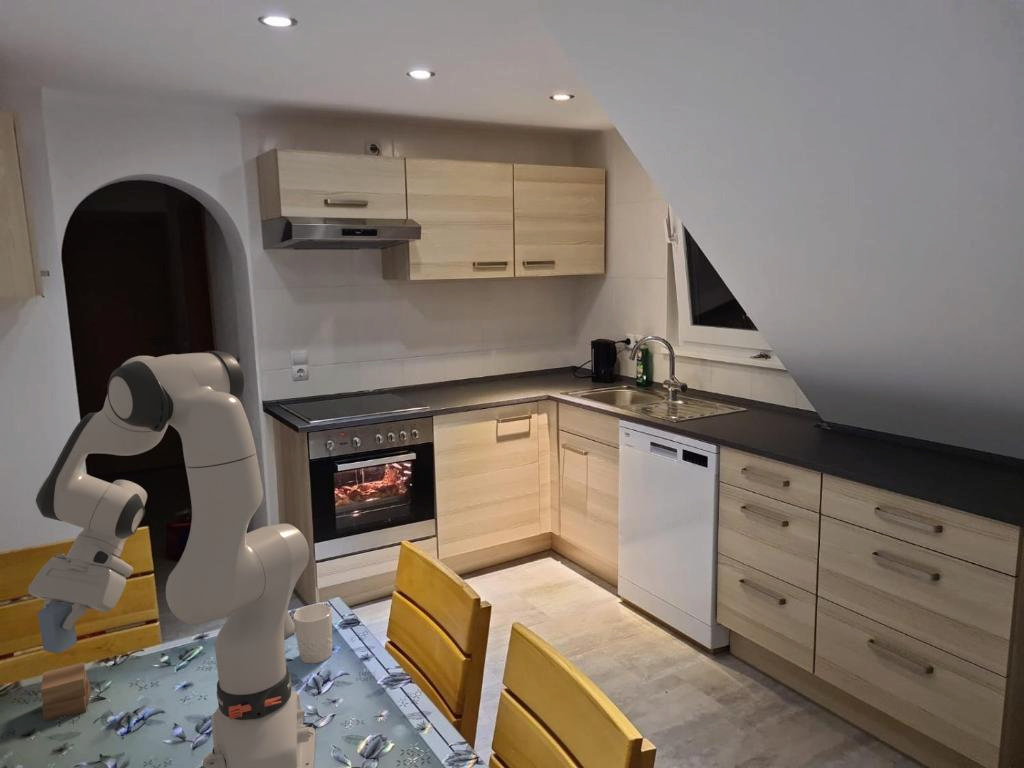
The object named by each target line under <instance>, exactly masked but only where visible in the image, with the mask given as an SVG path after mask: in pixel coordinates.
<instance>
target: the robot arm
mask: <svg viewBox="0 0 1024 768" xmlns="http://www.w3.org/2000/svg"><path fill="white" fill-rule="evenodd" d="M244 376H245V375H244V372H243V369H242V367H241V365H240V364H239V362H238V360H237V359H236V358H235V357H234V356H233V355H231V354H230V353H228V352H224V351H218V350H206V351H203V352H191V353H188V352H187V353H180V354H179V353H178V354H175V353H172V354H165V355H162V356H161V355H160V356H157V357H155V356H152V355H151V356H150V355H137V356H134V357H131V358H129V359H127V360H125V361H124V362H123V363H122V364H121V366H119V367H117V368H115V369H114V370H113V371H112V372H111V374H110V377H109V379H108V383H107V386H106V387H107V388H106V389H107V391H106V392H107V394H106V397H105V401H104V403H103V407H102V409H101V410H100V411H98V412H97V411H96V412H89V413H88V414H86V415H85V416H84V417H83V418H81V420H80V421H79V422H78V423H77V425H76V426H74V429H73V430H72V432H71V434H70V436H69V438H68V439H67V441H66V442H65V445H63V448H62V450H61V452H60V453H59V455H58V457H57V459H56V461H55V463H54V465H53V466H52V469H51V470H50V472H49V474H48V476H46V478H45V480H44V481H43V482H42V484H41V485H40V486H39V488H38V491H37V493H36V498H35V504H36V507H37V509H38V510H39V512H40V514H41V515H42V517H44V518H47V519H50V520H55V521H58V522H59V521H60V522H65V523H67V524H70V525H73V526H76V527H79V528H82V531H80V532H79V534H77V536H76V538H75V539H74V542H73V543H72V545H71V547H70V549H69V550H68V552H67V554H66V553H63V552H62V553H61V552H60V553H57V554H56V555H54V556H53V557H50V559H49V560H48V561H47V562H45V564H43V566H42V567H41V568H40V570H39V571H38V572H37V574H36V575H35V577H34V578H33V579H32V581H31V583H30V584H29V586H28V588H27V590H28V594H29V595H31V596H33V597H35V598H37V599H40V600H44V602H43V603H42V604H43V606H42V607H43V608H42V609H44V608H46V607H48V606H50V605H52V604H54V603H56V602H58V603H63V604H68V605H72V612H71V613H70V614H69V615H68V617H67V618H63V619H62V621H61V623H60V624H59V627H60V628H63V629H66V630H71V629H72V627H73V625H75V623H76V622H77V621H79V620H80V619H81V618H82V617H83V616H85V614H86V612H87V611H88V609H89V610H94V611H99V612H103V613H104V612H105V613H109V612H111V611H112V610H113V609H114V608H115V607H116V605H117V603H118V602H119V600H120V599H121V596H122V594H123V592H124V590H125V588H126V585H127V578H129V577H130V576H131V575H132V574H133V571H134V567H133V566H132V565H130V564H129V563H128V562H125V560H123V559H122V558H121V555H122V552H123V550H124V545H125V544H126V541H127V539H128V538H129V537H131V536H134V535H135V534H136V532H137V530H138V528H139V526H140V525H141V523H142V521H143V518H145V514H146V509H145V505H146V503H147V500H148V493H147V491H146V490H145V489H144V488H143V487H142V486H141V485H139V484H138V483H135V482H133V481H132V480H131V481H130V480H126V479H116V480H114V481H113V482H108V481H106V480H103V479H100V478H97V477H94V476H91V475H90V474H87V472H85V471H83V470H82V469H81V468H82V466H83V465H84V462H85V461H86V460H87V457H88V455H89V454H106V455H114V456H122V457H123V456H124V457H125V456H135V455H140V454H143V453H145V452H147V451H150V450H152V449H153V448H154V447H156V446H158V444H159V443H160V442H161V441H162V439H163V438H164V435H165V433H166V431H167V429H168V427H169V425H170V426H171V427H173V428H174V429H175V430H176V431H177V432H178V434H179V437H180V439H181V440H180V441H181V444H182V452H183V458H184V465H185V470H186V476H187V481H188V488H189V495H190V501H191V502H190V503H191V504H190V505H191V523H190V530H189V534H188V539H187V541H186V545H185V548H184V551H182V555H181V557H180V558H179V561H178V562H177V564H176V565H175V567H174V568H173V570H172V571H171V572H170V574H169V575H168V578H167V580H166V584H165V585H166V586H165V598H166V602H167V605H168V607H169V609H170V611H171V612H172V614H173V615H174V616H175V617H176V618H177V619H178V620H179V621H181V622H183V623H185V624H187V625H190V626H199V625H200V626H201V625H202V624H206V623H210V622H214V621H217V620H221V619H224V618H226V617H228V618H227V620H226V621H225V622H224V624H223V625H222V626H221V628H220V630H219V632H217V633H218V634H217V635H216V639H215V641H214V642H215V644H214V650H215V659H216V660H215V661H216V668H217V676H218V677H217V678H218V680H217V682H216V700H217V704H218V707H217V709H215V711H214V713H213V714H212V715H211V716H210V720H211V732H212V743H213V747H212V751H211V752H210V753H209V754H207V755H206V756H205V757H204V758H203V760H202V766H203V768H315V759H316V757H315V756H316V743H317V742H316V741H317V733H316V730H315V728H313V727H311V726H307V725H306V724H304V722H303V719H304V718H305V709H304V708H302V706H301V705H302V704H301V696H300V693H298V692H297V691H294V690H293V689H292V677H291V674H290V669H289V667H288V665H287V663H286V662H287V661H286V648H285V647H286V645H285V639H284V625H285V618H286V613H287V611H288V609H289V604H290V601H291V598H292V595H293V591H294V589H295V586H296V585H297V582H298V581H299V579H300V577H301V575H302V573H303V572H304V571H305V570H306V568H307V566H308V564H309V559H310V548H309V544H308V541H307V539H306V537H305V535H304V534H303V533H302V532H301V531H300V530H299V528H297V527H295V525H292V524H290V523H279V524H271V525H267V526H261V527H258V528H257V529H254V530H251V531H249V532H247V531H248V528H249V524H250V522H251V519H252V518H253V516H254V514H255V513H256V512H257V510H258V509H259V507H260V506H261V504H262V501H263V498H264V487H263V482H262V477H261V471H260V466H259V460H258V455H257V449H256V444H255V440H254V436H253V433H252V429H251V426H250V422H249V420H248V417H247V413H246V411H245V409H244V406H243V404H242V402H241V401H240V399H241V397H242V396H243V393H244V388H245V377H244Z"/></svg>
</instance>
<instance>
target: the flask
mask: <svg viewBox="0 0 1024 768" xmlns="http://www.w3.org/2000/svg"><path fill="white" fill-rule="evenodd" d="M294 634H296V631H295V624H294V619H293V618H292V616H291V615H290V612H289V611H288V610H287V613H286V618H285V625H284V640H285V639H287V638H288V637H289V638H290V636H292V635H294Z"/></svg>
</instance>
